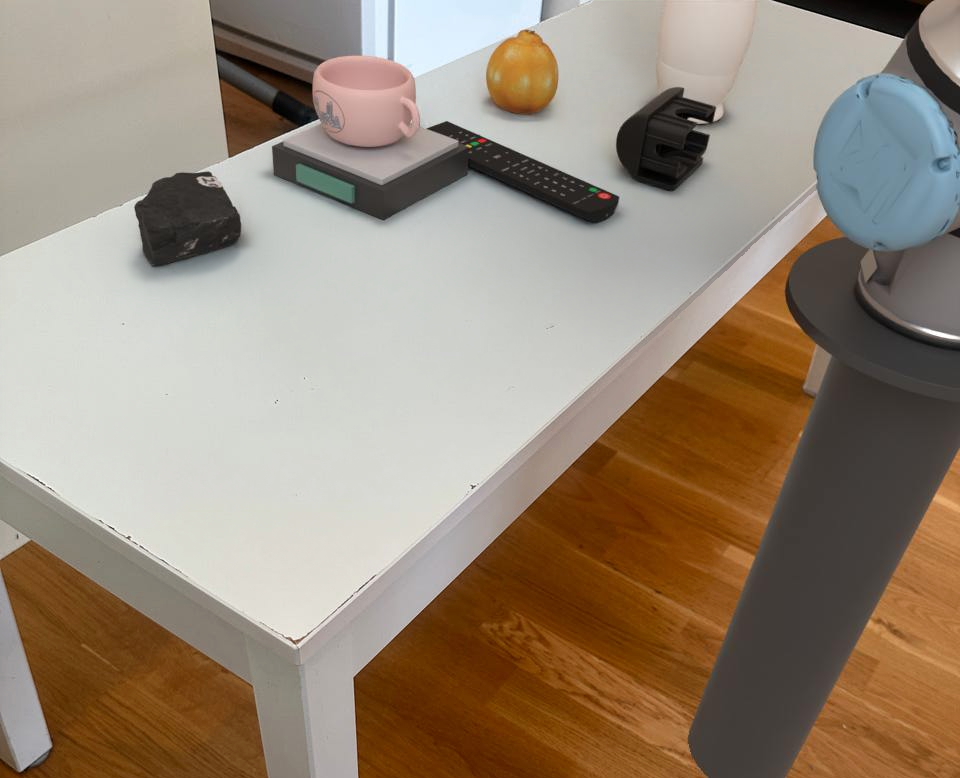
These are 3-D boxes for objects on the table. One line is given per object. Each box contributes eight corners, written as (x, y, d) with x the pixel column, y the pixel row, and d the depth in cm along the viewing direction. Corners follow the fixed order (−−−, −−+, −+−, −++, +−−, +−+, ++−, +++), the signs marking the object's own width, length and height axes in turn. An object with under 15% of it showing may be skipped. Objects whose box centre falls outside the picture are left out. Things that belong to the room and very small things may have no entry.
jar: (692, 136, 116) (726, -13, 105) (626, 105, 121) (651, -41, 110) (748, 117, 122) (786, -27, 111) (682, 88, 126) (712, -53, 115)
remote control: (446, 133, 112) (446, 120, 111) (621, 211, 102) (623, 198, 101) (412, 146, 109) (413, 133, 108) (590, 227, 99) (592, 214, 98)
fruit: (551, 69, 121) (527, 7, 114) (578, 102, 116) (556, 39, 110) (492, 109, 122) (465, 50, 115) (517, 143, 118) (491, 84, 111)
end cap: (645, 144, 114) (658, 79, 109) (704, 162, 112) (720, 96, 107) (609, 175, 108) (620, 107, 103) (670, 194, 106) (685, 126, 101)
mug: (293, 134, 100) (289, 69, 96) (361, 108, 106) (361, 46, 102) (383, 174, 96) (384, 108, 92) (450, 145, 102) (453, 81, 97)
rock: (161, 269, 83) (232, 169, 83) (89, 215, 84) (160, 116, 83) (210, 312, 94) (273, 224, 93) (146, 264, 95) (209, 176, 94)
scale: (467, 174, 105) (469, 140, 103) (380, 222, 97) (380, 186, 94) (362, 134, 110) (362, 101, 107) (270, 176, 102) (267, 141, 99)
